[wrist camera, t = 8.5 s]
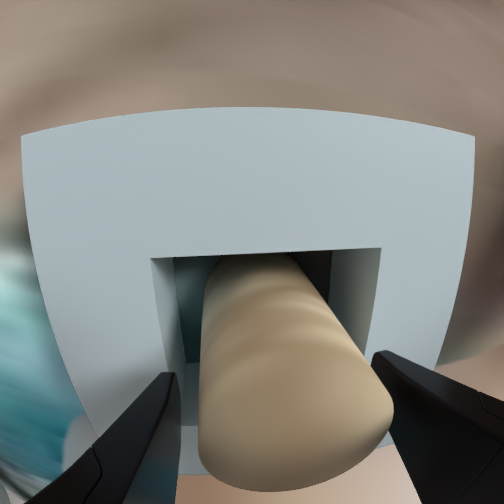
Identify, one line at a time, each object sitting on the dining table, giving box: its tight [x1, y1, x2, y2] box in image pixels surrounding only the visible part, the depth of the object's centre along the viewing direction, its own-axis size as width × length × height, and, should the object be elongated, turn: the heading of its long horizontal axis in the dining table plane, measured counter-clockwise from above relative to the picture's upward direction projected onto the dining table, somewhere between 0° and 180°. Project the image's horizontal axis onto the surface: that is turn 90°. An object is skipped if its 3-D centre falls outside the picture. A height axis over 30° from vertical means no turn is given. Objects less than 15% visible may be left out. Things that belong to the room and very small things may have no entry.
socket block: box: [21, 107, 475, 475], centre depth 11 cm, size 14×14×4 cm
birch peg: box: [198, 252, 394, 492], centre depth 9 cm, size 4×4×8 cm
